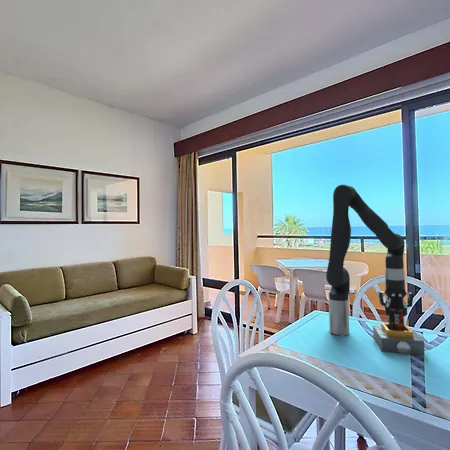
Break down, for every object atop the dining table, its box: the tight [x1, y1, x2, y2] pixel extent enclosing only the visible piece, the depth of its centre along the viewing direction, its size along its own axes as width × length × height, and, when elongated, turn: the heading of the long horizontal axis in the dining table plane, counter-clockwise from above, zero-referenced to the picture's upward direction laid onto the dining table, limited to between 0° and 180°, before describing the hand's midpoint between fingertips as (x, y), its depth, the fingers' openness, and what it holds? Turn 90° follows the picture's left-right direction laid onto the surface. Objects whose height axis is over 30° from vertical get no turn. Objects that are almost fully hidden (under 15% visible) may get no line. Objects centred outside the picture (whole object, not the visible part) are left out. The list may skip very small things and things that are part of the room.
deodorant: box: [388, 296, 405, 331], centre depth 129 cm, size 6×6×15 cm
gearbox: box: [372, 322, 425, 357], centre depth 128 cm, size 16×18×8 cm
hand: (396, 315), depth 129 cm, fingers closed on deodorant, 6 cm apart
